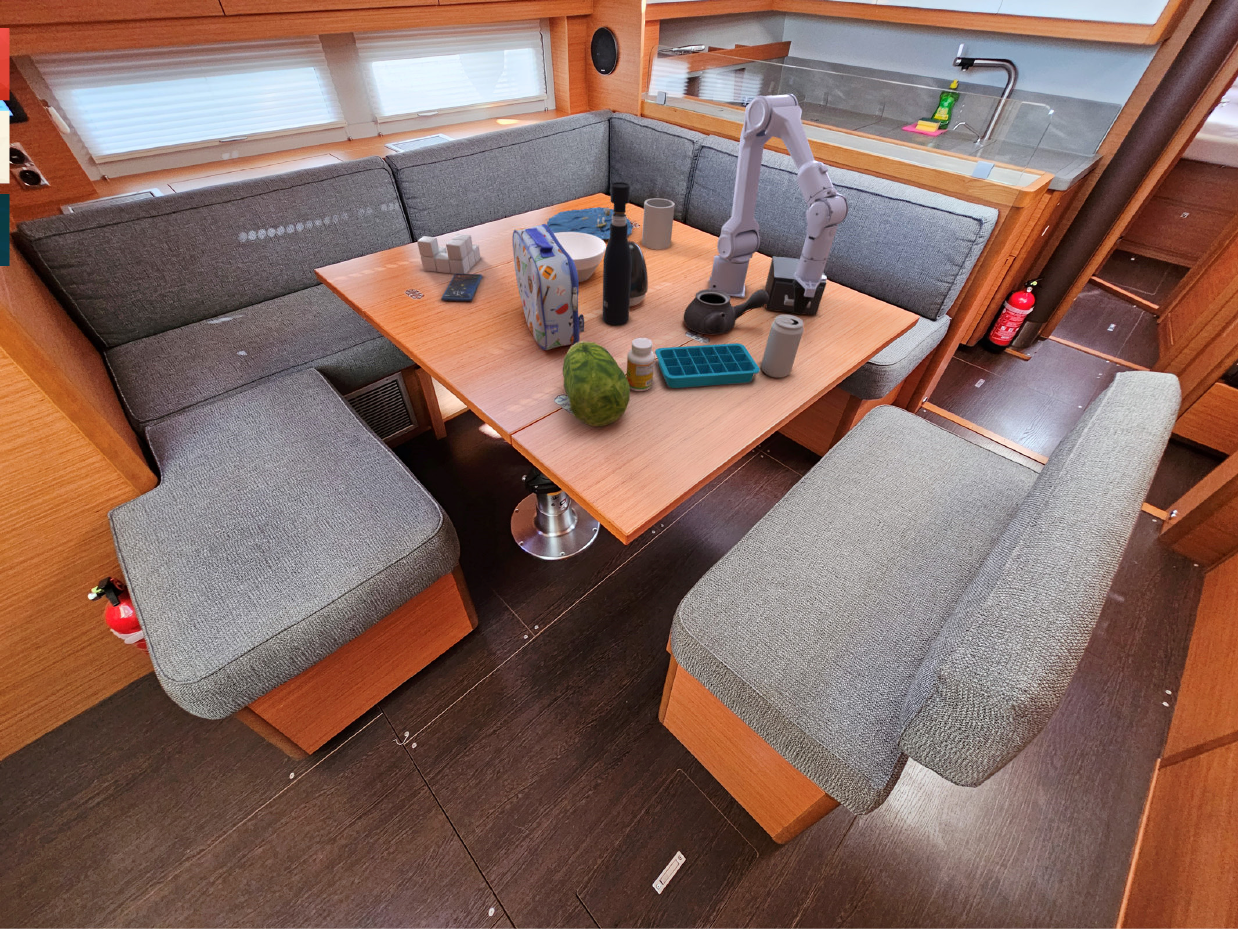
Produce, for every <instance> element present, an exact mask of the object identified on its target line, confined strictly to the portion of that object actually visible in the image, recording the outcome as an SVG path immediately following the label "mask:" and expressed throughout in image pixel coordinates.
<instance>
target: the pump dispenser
mask: <svg viewBox="0 0 1238 929" xmlns="http://www.w3.org/2000/svg"><path fill="white" fill-rule="evenodd" d="M628 243H629V247H630V251H631V258H632V268H631V286H630V304H629V307H633V306H634V307H635V306H637V305H639V304H640V303H641V302H642V301H643V300H644V299H645V297H646V294H647V293H648V290H649V277H648V276H649V275H648V267H647V263H646V259H645V255H644V253H643V251H642V249H641V246H640V245H639V244H638V243H636V242H635V241H632V240H628Z"/></svg>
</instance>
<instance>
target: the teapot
mask: <svg viewBox="0 0 1238 929" xmlns="http://www.w3.org/2000/svg"><path fill="white" fill-rule="evenodd" d="M731 300H732V298H731V296H729V295H728V294H727V293H725V292H723V291H720V290H715V289H709V288H706V289H701V290H699V291H697V292H696V293H695V297H694V298H693V299H692V300H691V301H690V302H689V304H688V305H687V306H686V308H685V310H684V313H683V322H684V325H685V326H686V327H687V328H688V329H690V330H691V331H694V332H696V333H698V334H704V335H708V336H709V335H710V336H712V335H713V336H715V335H722V334H723V335H724V334H726V333H728V332H731V331H732V330H733V329H734V327H735V324H736V321H737V320H738V319H739V318H740V317H742V316H743V315H744V314H745V313H746V312H747V311H750V310H756V309H761V308H762V307H764V306H766V304H767V303H768V301H769V295H768V294H767V292H766V291H765V289H757V290H755V291H754V292H753V293H752V294H751V295H750V296H749V297H748V299H747V300H746V301H744V302H743V303H741V304H736V305H734V306H733V305H732V304H731Z"/></svg>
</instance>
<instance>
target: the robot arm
mask: <svg viewBox="0 0 1238 929" xmlns="http://www.w3.org/2000/svg"><path fill="white" fill-rule="evenodd" d="M802 112H803V110H802V108H801V107H800V105H799V101H798V98H797V97H796V96H795V95H794V94H792V93H786V94H776V95H775V94H774V95H757V96H755V97H754V98H753V99H752V100H751V101H750V102H749V103H748V104H747V105H746V107H745V111H744V120H743V126H742V129H741V132H740V137H739V147H738V155H737V165H736V172H735V180H734V182H735V183H734V189H733V190H734V191H733V200H732V208H731V217H730V218H729V219H728V220H726V222H725V223H724V224H723V225H722V227H721V231H720V236H719V237H718V239H717V242H716V243H717V244H716V247H717V253H718V255H714V256H713V262H712V269H711V274H710V276H709V278H708V279H709V280H708V284H709V286H708V287H709V288H708V289H715V290H720V291H723V292H725V293H727V294H728V295H729V296H730V297H732V298H733V297H734V298H741V299H743V298H745V292H746V290H745V289H746V284H745V283H746V279H747V274H748V269H749V264H750V260H751V259H752V258H753V255H754V254H755V253H756V252H757V251H758V250H759V249H760V244H761V238H760V224H759V222H757V220H756V219H755V212H756V205H757V198H758V189H759V182H760V176H761V168H762V161H763V153H764V148H765V147H764V146H765V144H766V143H767V142H768V141H769V140H771V139H772V138H777V139H780V140H782V142H783V144H784V146H785V148H786V150H787V151H788V153H789V155H790V157H791V159H792V161H793V163H794V164H795V167H796V168H797V170H798V172H797V175H796V180H795V181H796V183H797V185H798V188H799V190H800V192H801V194H802V196H803V198H804V201H805V204H806V205H807V207H808V209H806V213H805V218H806V223H807V227H806V235H805V239H804V243H803V247H802V250H801V254H800V257H799V259H800V260H799V264H798V267H797V271H796V272H795V275H794V278H795V279H796V280H793V287H794V302H793V313H792V314H793V315H804V314H803V312H804V310H805V309H806V307H807V305H808V303H809V302H810V300H811V299H812V298H813V297H814V296H815V295H816V294H817V293H818V291H819V289H818V285H819V284H820V282H821V281H824V282H825V281H826V282H827V279H828V278H827V277H828V276H827V275H825V274H824V275H822V274H823V271H824V270H825V268H826V264H827V261H828V258H829V255H830V252H831V249H832V245H833V243H834V240H835V236H836V234H837V230H838V226H839V225H840V224H842V223H843V222H844V221H845V220H846V219H847V216H848V214H849V202H848V199H847V197H846V196H845V195H844V194H841V193H839V192H838V190H836V187H834V185H833V182H832V180H831V178H830V176H829V173H828V172H829V168H828V166H827V164H824V162H822V161H817V160H815V157H814V155H813V151H812V149H811V145H810V143H809V140H808V137H807V134H806V131H805V129H804V127H803V124H802V121H801V120H802V118H801V117H802V114H803V113H802ZM824 272H825V271H824Z"/></svg>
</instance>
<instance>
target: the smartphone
mask: <svg viewBox="0 0 1238 929" xmlns="http://www.w3.org/2000/svg"><path fill="white" fill-rule="evenodd" d="M482 279H483V275H482V274H481V273H479V274H478V273H466V274H453V276H452V278H451V280H450V281H449V283H448V285H447V287H446V289H445V290H444V292H443V294H442V295H441V297H440V298H441V301H449V302H471V301H472V300H473V298H474V297H475V296H474V295H475V294H476V292H477V289H478V287H479V285H480V283H481V280H482Z"/></svg>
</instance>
